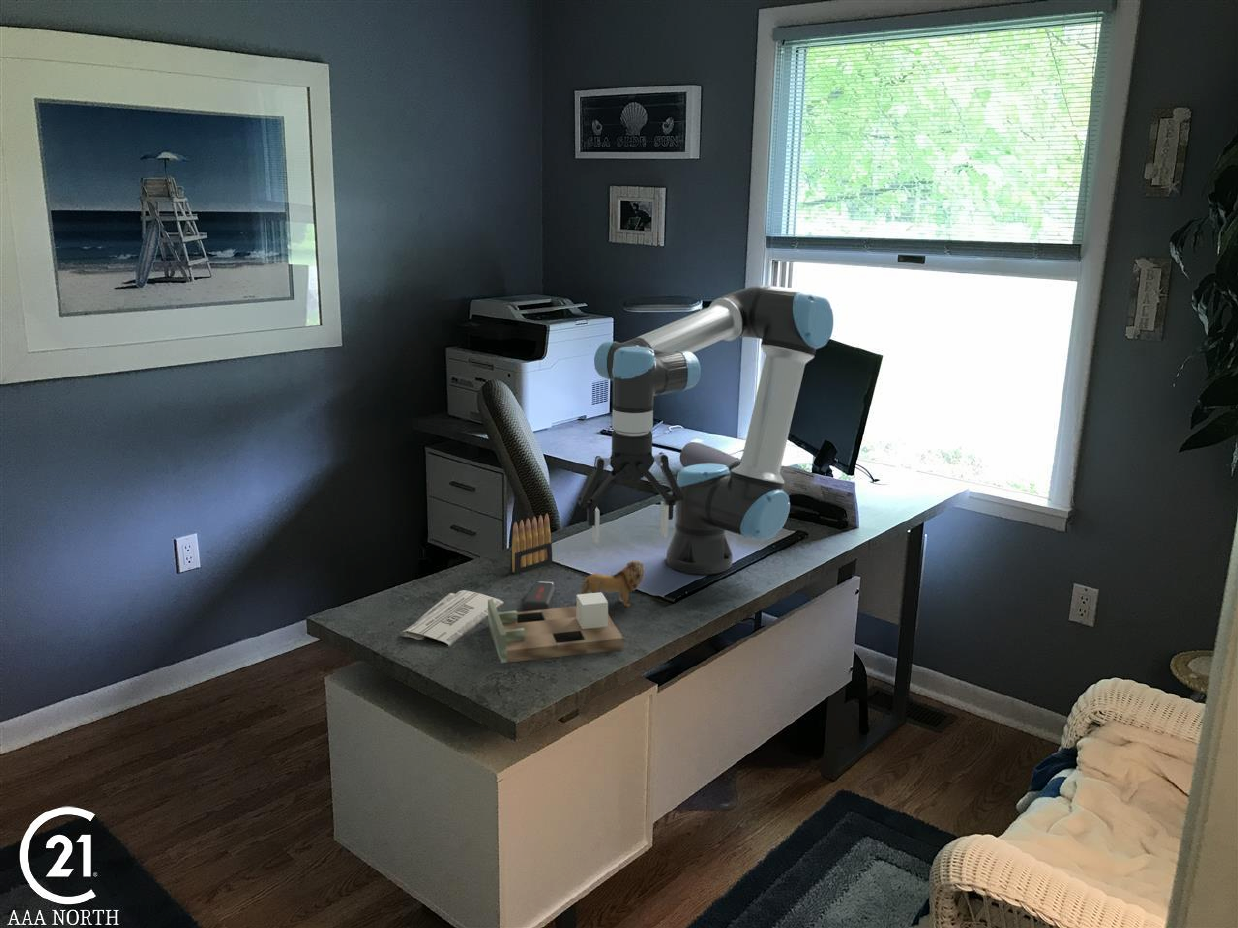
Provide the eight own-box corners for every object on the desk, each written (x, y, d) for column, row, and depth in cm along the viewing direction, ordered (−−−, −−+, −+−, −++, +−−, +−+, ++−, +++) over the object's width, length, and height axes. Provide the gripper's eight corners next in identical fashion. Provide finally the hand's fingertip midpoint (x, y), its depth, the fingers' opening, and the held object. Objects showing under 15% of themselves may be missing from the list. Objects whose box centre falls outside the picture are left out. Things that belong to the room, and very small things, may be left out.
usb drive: (523, 612, 206) (523, 600, 205) (534, 589, 218) (533, 577, 217) (548, 614, 206) (548, 602, 205) (557, 591, 217) (558, 579, 216)
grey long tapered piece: (748, 491, 286) (750, 457, 283) (722, 495, 281) (723, 461, 279) (703, 470, 305) (704, 438, 302) (677, 474, 300) (678, 441, 297)
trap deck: (601, 614, 205) (601, 589, 204) (622, 649, 190) (623, 622, 189) (488, 626, 199) (487, 599, 197) (501, 663, 184) (500, 635, 183)
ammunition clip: (515, 574, 224) (514, 523, 221) (510, 572, 226) (509, 521, 222) (552, 563, 231) (552, 513, 228) (547, 560, 233) (547, 511, 229)
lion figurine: (639, 595, 215) (640, 555, 212) (646, 605, 210) (647, 565, 207) (572, 602, 211) (572, 561, 208) (577, 612, 206) (578, 571, 203)
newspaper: (452, 596, 214) (452, 585, 214) (503, 611, 210) (504, 600, 210) (390, 638, 194) (391, 627, 193) (445, 656, 190) (446, 645, 189)
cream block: (601, 615, 199) (601, 592, 198) (607, 626, 194) (608, 602, 193) (576, 618, 198) (576, 594, 196) (582, 629, 193) (582, 604, 192)
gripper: (689, 422, 195) (685, 526, 201) (562, 429, 188) (562, 536, 194) (702, 432, 188) (697, 539, 194) (571, 439, 181) (570, 550, 187)
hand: (629, 538), depth 194 cm, fingers open, 13 cm apart
